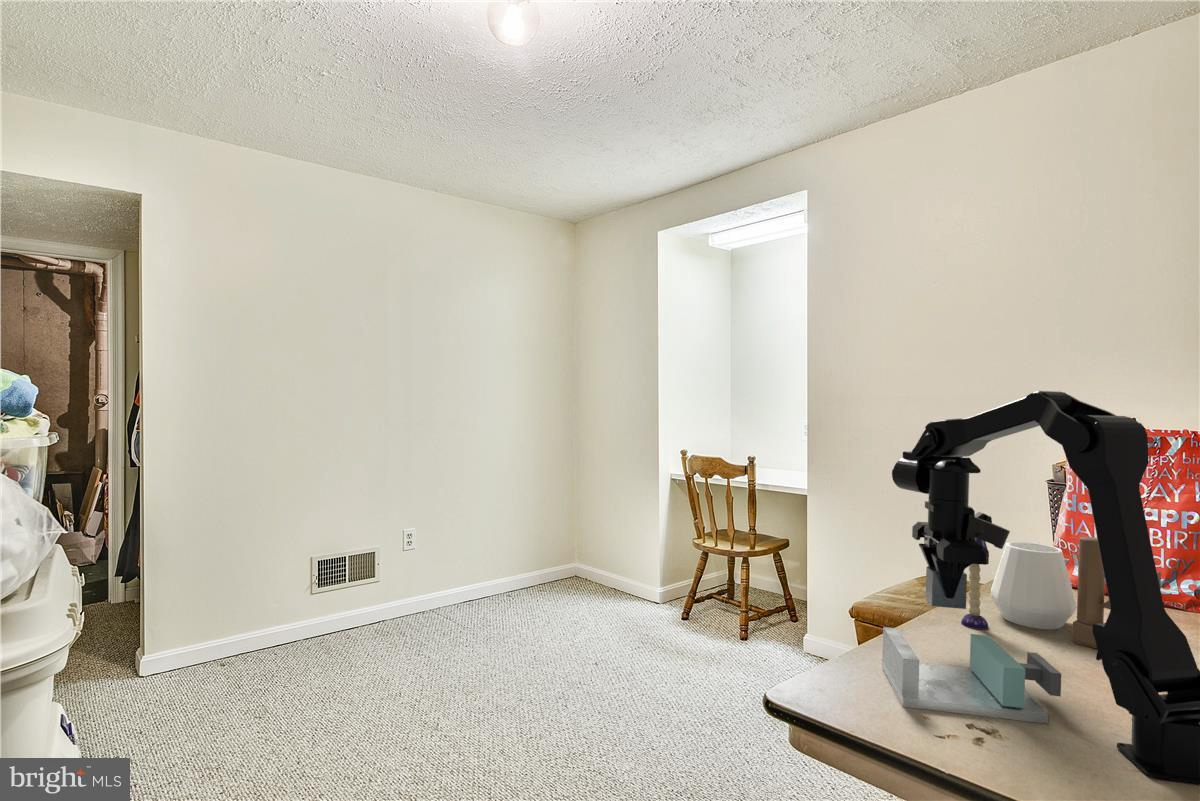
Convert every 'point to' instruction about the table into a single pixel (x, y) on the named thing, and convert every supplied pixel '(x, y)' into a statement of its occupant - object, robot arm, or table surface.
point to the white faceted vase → (1033, 586)
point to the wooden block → (1090, 592)
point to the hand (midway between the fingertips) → (945, 594)
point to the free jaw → (1010, 671)
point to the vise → (945, 685)
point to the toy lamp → (975, 597)
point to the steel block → (936, 592)
